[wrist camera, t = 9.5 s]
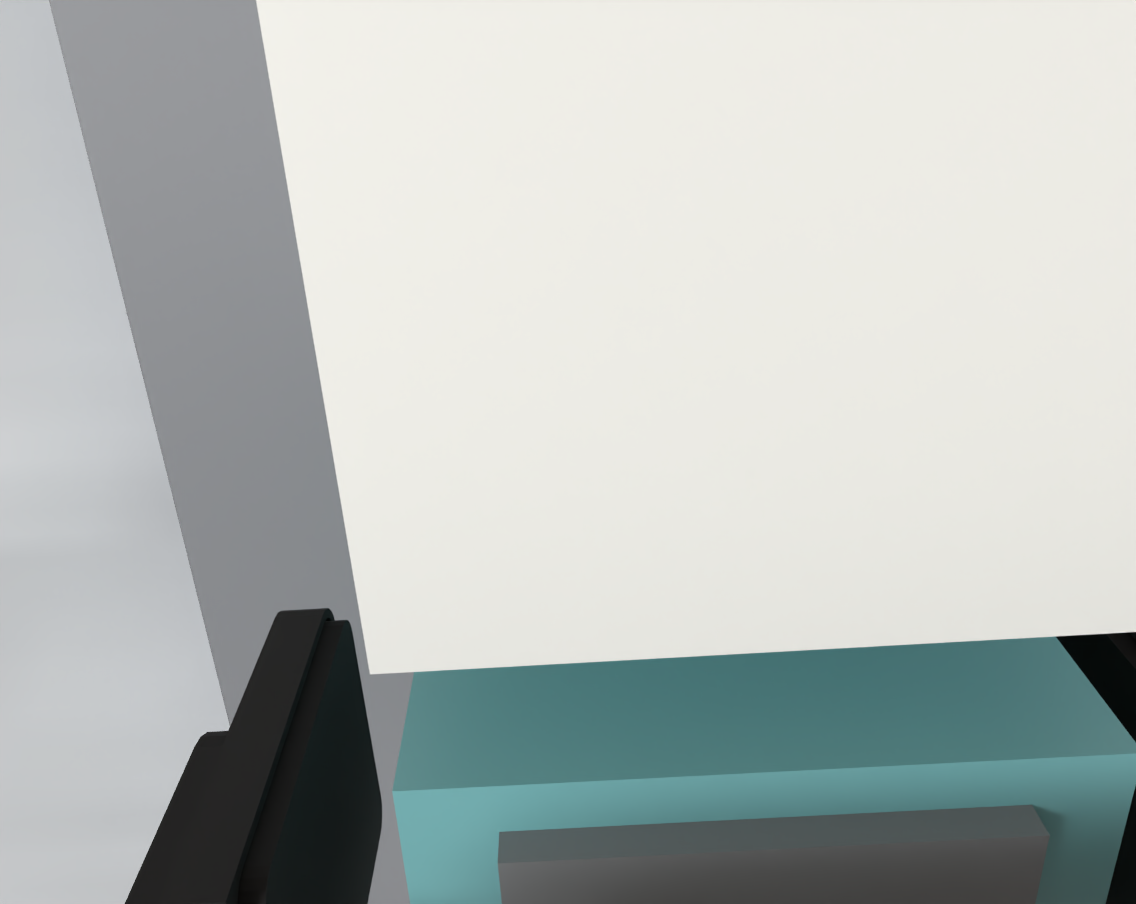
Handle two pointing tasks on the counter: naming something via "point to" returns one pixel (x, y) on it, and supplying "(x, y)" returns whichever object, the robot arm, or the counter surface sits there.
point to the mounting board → (224, 332)
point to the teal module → (767, 779)
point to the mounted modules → (719, 319)
